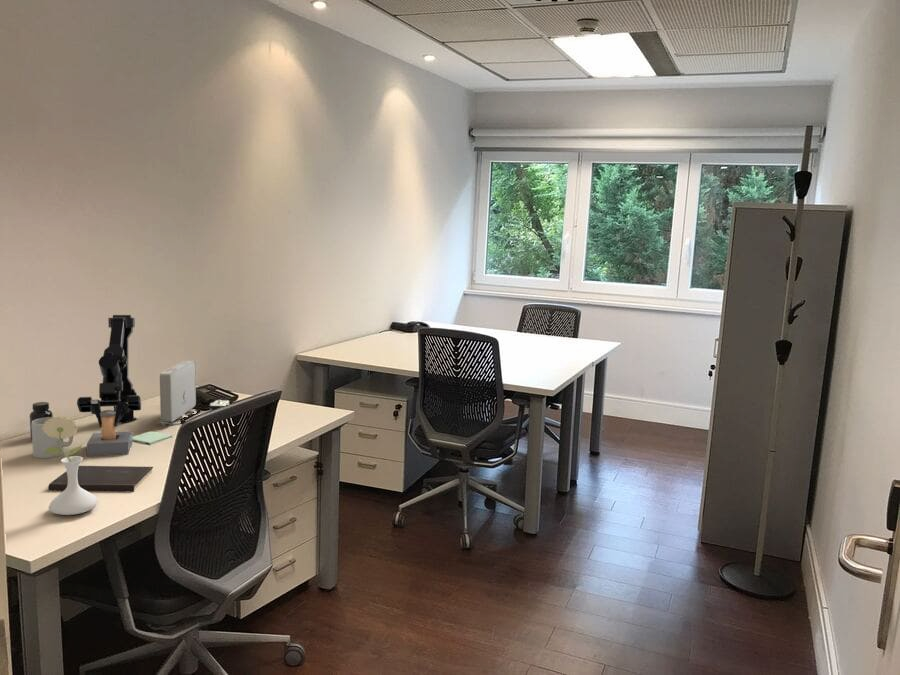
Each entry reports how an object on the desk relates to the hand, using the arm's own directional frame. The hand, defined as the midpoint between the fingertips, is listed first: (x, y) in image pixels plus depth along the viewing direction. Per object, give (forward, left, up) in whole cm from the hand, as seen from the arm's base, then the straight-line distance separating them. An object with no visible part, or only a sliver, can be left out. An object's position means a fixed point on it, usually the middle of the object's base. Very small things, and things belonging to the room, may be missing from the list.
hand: (107, 426), depth 234 cm
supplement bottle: (-30, -1, -8) cm, 31 cm away
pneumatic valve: (+16, +33, -8) cm, 38 cm away
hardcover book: (+20, -21, -9) cm, 30 cm away
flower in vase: (+30, -40, -8) cm, 51 cm away
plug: (-1, +1, -8) cm, 8 cm away
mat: (+1, +16, -8) cm, 18 cm away
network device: (-9, +41, -8) cm, 43 cm away
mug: (-12, -11, -8) cm, 18 cm away
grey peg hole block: (-1, +1, -8) cm, 8 cm away
